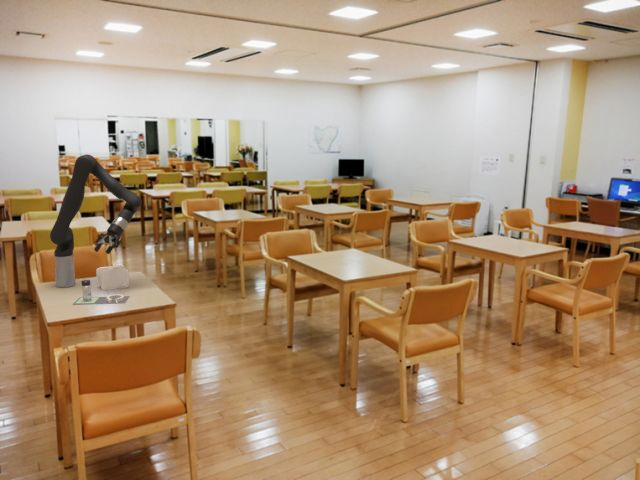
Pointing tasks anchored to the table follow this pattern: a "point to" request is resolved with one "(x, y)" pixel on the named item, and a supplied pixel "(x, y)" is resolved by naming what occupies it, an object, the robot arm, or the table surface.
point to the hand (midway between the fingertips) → (101, 252)
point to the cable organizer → (112, 277)
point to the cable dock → (103, 300)
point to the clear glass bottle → (86, 290)
